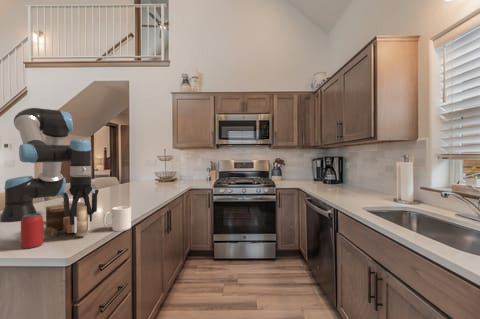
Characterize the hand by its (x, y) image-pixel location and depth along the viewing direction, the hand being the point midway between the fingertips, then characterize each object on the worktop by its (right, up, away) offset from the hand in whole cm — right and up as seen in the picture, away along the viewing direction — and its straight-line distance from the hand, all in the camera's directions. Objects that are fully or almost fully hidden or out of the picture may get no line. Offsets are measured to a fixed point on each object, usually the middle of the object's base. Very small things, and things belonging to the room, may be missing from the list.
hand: (81, 230), depth 104 cm
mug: (-22, -3, +23) cm, 32 cm away
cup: (+10, -3, +12) cm, 15 cm away
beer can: (-12, -3, -10) cm, 16 cm away
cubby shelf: (-12, -3, +10) cm, 16 cm away
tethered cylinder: (-4, -2, +3) cm, 5 cm away
